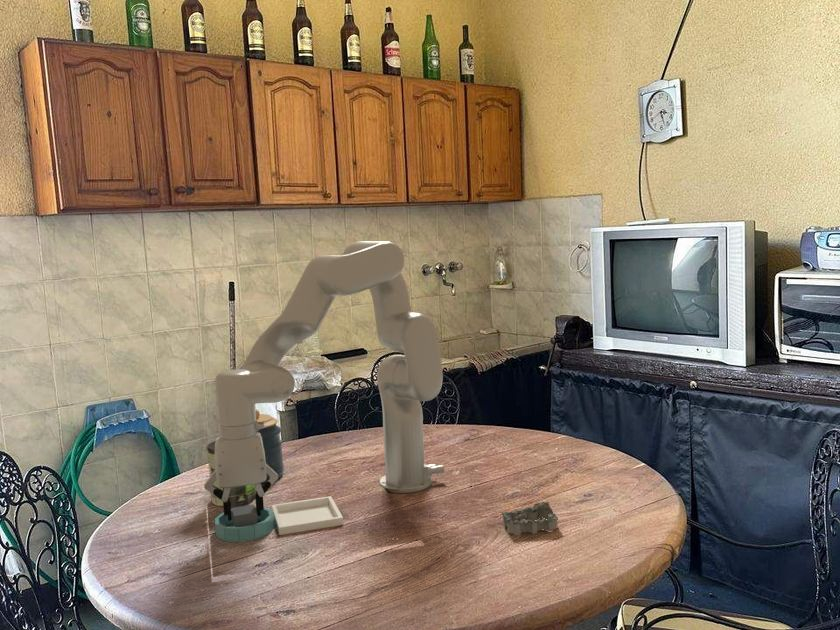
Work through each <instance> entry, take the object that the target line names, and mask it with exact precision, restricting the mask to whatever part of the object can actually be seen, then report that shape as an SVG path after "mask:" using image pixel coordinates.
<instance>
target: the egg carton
mask: <svg viewBox="0 0 840 630" xmlns="http://www.w3.org/2000/svg"><path fill="white" fill-rule="evenodd" d="M500 513H501V516H502V517H503V518H502V519H503V520H502V523H503V524H502V525H504V526H507V527H506V528H507V531H506V532H507V533H508V534H509V533H513V534H512V535H514V536H521V535H520V534H522V532H523V533H525V532H524V531H528V532H527V533H530V532H531V533H530V534H532V533H536V534H538V532H539V531H538V530H541V531H544V530H548V531H553V532H554V530H553V529H554V528H556V527H557V528H558V521H559V518H558V516H557V515H556V513H554V511H553V508H552V507H551V505H550V504H549V501H546V502H545V501H542V502H537V503H534V505H533V506H526V507H525V508H522V509H517V508H516V509H515V510H514V509H513V510H512V511H501V512H500ZM542 517H543V518H545V519H539V518H542ZM546 519H547V520H546ZM535 520H537V521H535ZM504 526H503V527H504ZM542 529H544V530H542ZM537 531H538V532H537ZM548 531H547V532H548Z"/></svg>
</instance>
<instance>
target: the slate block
mask: <svg viewBox="0 0 840 630" xmlns="http://www.w3.org/2000/svg"><path fill="white" fill-rule="evenodd" d="M255 506H256V505H255V504H246V505H242V506H237V507H231V509H232V515H233V523H232V525H233V526H232V527H243V526H250V525H254V524H257V523H258V520H257V515H256V510H255Z"/></svg>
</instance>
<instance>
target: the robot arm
mask: <svg viewBox="0 0 840 630" xmlns="http://www.w3.org/2000/svg"><path fill="white" fill-rule="evenodd" d="M404 265H405V256H404V251H402V249H401V247H400V246H399V245H397V244H396V243H394V242H391V241H387V240H386V241H385V240H381V241H377V240H376V241H374V240H371V241H370V240H365V241H363V240H362V241H356V242H352V243H351V244H349V245H347V247H346V248H345V249H344V250H343V254H342V255H338V254H337V255H332V254H331V255H329V254H328V255H318V256H316V257H314V258H312V259H311V260H310V261H309V263H308V264H307V265H306V267H305V269H304V271H303V272H302V275H301V277H300V278H299V280H298V282H297V284H296V286H295V288H294V290H293V292H292V295H291V296H290V298H289V300H288V302H286V305H285V308H284V309H283V311H282V312H281V314H280V315H279V316H278V317H277V318H276V319H275V320H274V321H273V322H272V323H271V324H270V325H269V326H268V328H267V329H266V330H264V332H262V333H261V335H260V336H259V337H258V338H257V340H256V341H255V343H254V344H253V346H252V347H251V349H250V351H249V354H248V355H247V357H246V359H245V361H244V364H243V365H242V367H241V369H240V368H238V369H228V370H224V371H221V372H219V373H218V374H217V375H216V376H215V379H214V380H215V382H214V383H215V394H216V409H217V411H216V412H217V420H218V422H217V423H218V434H219V436H218V437H216V438H215V441H216V442H215V471H214V472H213V473H212V475H211V476H210V475H209V477H208V479H207V480H206V481H205V482H204V485H203V487H204V489H205V490H206V491H208V492H209V493H210V494H211V493H213V494H214V495H215V496H217V497H218V498H219V499H221V500H222V502H223V507H222V508H223V512H224V516H226V515H228V521H230V520H232V515H231V509H232V507H231V502H230V498H229V493H230V489H231V488H232V487H239V486H246V485H253V484H254V485H255V488H256V494H255V500H254V501H255V506H256V512H257V516H261V510H264V507H265V506H264V496H265V493H266V492H267V491H268V490H269V489H270V488H271V487H272V485H273V484H275V482H276V481H278V480H279V478H278V474H277V473H276V472H275V471H274V470H272V469H271V468H270V467H269V466H268V465H267V464H266V460H265V453H264V447H263V441H262V437H261V434H260V433H258V432H257V431H259V430H260V429H263V428H264V422H258V421H256V405H257V404H268V403H269V404H271V403H273V404H274V403H281V402H284V401H285V400H287V399H288V398H289V397H291V395H292V394H293V392H294V390H295V387H296V381H295V378H294V376H293V374H292V373H291V372H290V371H289V370H288V369H286V368H284V367H283V366H280V364H281V362H282V360H283V359H284V357H285V355H286V354H287V353H288V352H290V350H291V349H292V348H293V347H294V346H296V345H298V344H299V343H301V342H303V341H305V340H306V339H309V338H311V337H312V336H314V335H315V334H316V333H317V332H318V331H319V330H320V329H321V326H322V325H323V322H324V320H325V318H326V316H327V314H328V312H329V310H330V308H331V306H332V304H333V302H334V301H335V298H336V296H342V297H343V296H344V297H345V296H346V297H347V296H352V295H355V294H357V293H361V292H364V291H367V290H368V291H369V292H370V294H371V298H372V304H373V310H374V318H375V326H376V333H377V338H378V342H379V343H380V345H381V346H382V347H383V348H384V349H387V350H390V351H393V352H398V353H403V354H392V355H389V356H387V357H385V358H384V359H383V360H382V361H381V363H380V364H379V366H378V368H377V373H376V380H377V385H378V386H377V387H378V391H379V395H380V400H381V406H382V407H381V408H382V427H383V428H382V429H383V450H384V451H383V452H384V453H383V454H384V471H385V472H384V473H385V475H384V476H382V477H381V478H379V482H378V483H379V485H380V487H382V488H383V489H384V490H385V491H387V492H390V493H395V494H407V493H416V492H421V491H423V490H426V489H428V488H429V487H430V486H431V485H432V476H433V475H439V474H440V475H441V474H444V473H445V467H444V465H436V464H435V463H433V464H426V462H425V449H424V448H425V447H424V444H425V443H424V423H423V421H424V415H423V407H422V403H421V402H429V401H432V400H433V399H435V398H436V397H437V396H438V395H439V393H440V391H441V389H442V386H443V380H444V379H443V378H444V376H443V375H444V374H443V362H442V355H441V345H440V338H439V332H438V329H437V327H436V325H435V323H434V321H433V320H432V319H431V318H430V317H429V316H428V315H426V314H423V313H420V312H413V310H412V307H411V302H410V296H409V289H408V285H407V283H406V280H405V278H404V276H403V274H402V271H403V269H404ZM267 474H268V475H269V476H270V477H269V478H268V479H267V480H266V478H267ZM265 480H266V481H265ZM215 481H217V485H218V487H220V488H223V489H222V490H221V489H219V488H218V487H215V486H214V485H213V484H214V482H215ZM264 481H265V482H264ZM262 482H264V483H262ZM261 483H262V484H261Z"/></svg>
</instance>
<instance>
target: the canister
mask: <svg viewBox="0 0 840 630" xmlns="http://www.w3.org/2000/svg"><path fill="white" fill-rule="evenodd" d="M256 421H258V422H264V428H263V429H260V430H259V431H257V432H258V433H260V434H261V437H262V441H263V447H264V453H265V460H266V464H267V465H268V466H269V467H270V468H271V469H272V470H274V471H275V472H276V473H277V474H278V479H280V478H281V477H282V476H283V475H284V470H285V467H284V464H285V463H283V462H284V461H283V460H284V459H283V457H284V456H283V446H282V445H283V441H282V439H281V432H282V428H281V427H280V426H279V425H277V424H278V419H277V418H275V417H273V416H271V415H270V414H268V413H267V414H266V413H265V414H264V413H260V411H259V410H258V409H256ZM269 477H270V476H269V475H268V474H267V478H266V480H267V479H268V478H269ZM266 480H265V481H266ZM265 481H264V482H265ZM264 482H262V483H261V485H262V484H263V483H264Z"/></svg>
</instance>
